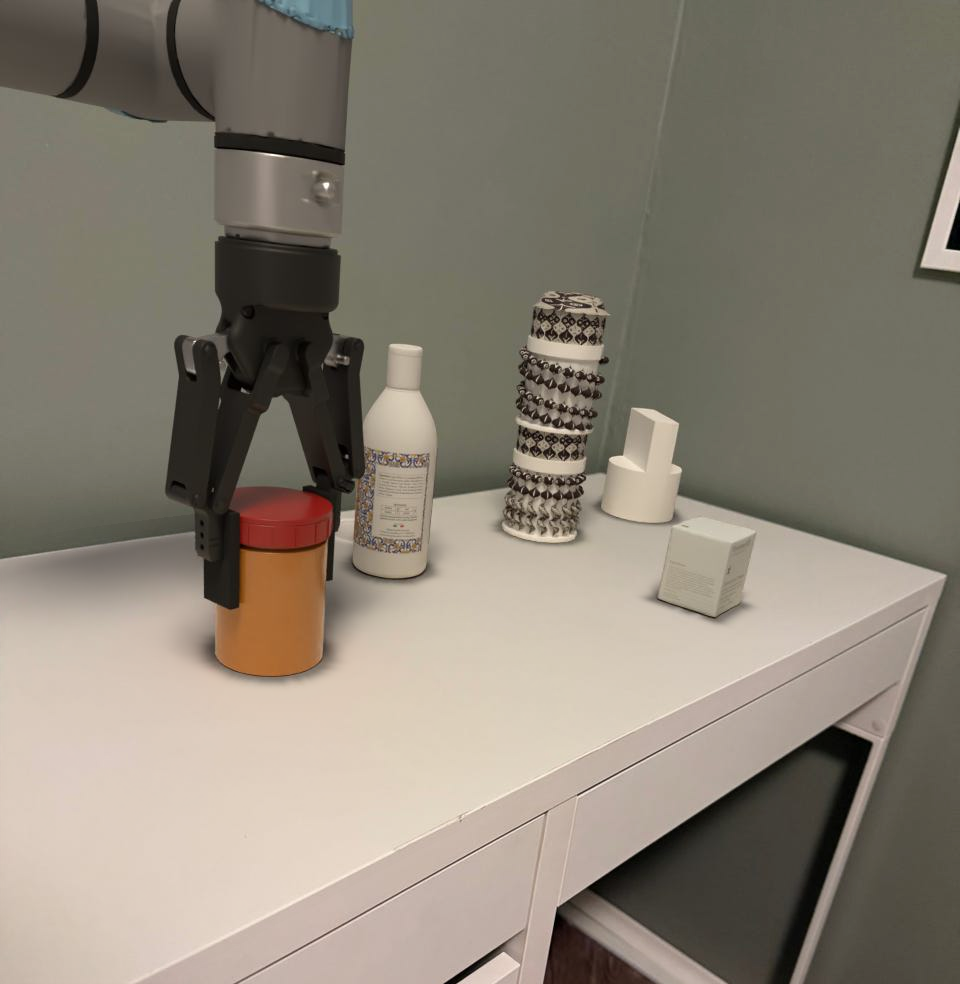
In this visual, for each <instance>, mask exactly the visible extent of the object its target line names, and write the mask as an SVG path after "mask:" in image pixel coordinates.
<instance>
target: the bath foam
mask: <svg viewBox="0 0 960 984" xmlns="http://www.w3.org/2000/svg"><path fill="white" fill-rule="evenodd" d="M423 354H424V350H423V348H422V346H418V345H412V344H405V343H391V344H389V345H388V351H387V366H386V384H385V385H386V386H385V388H384V389H383V391H382V392H381V394H379V396H378V397H377V399H376V400H375V402H373V404H372V406H371V407H370V409H369V411H368V412H367V414H366V415H365V418H364V420H363V439H364V456H365V473H364V475H363V477H362V478H361V479H356V484H355V505H354V519H353V520H354V521H353V537H352V538H353V539H352V540H353V541H352V542H353V543H352V563H353V565H354V567H355V568H356V569H358V571H361V572H363V573H365V574H367V575H371V576H374V577H379V578H386V579H405V578H411V577H415V576H418V575H420V574H422V573H423V572H424V571H425V570H426V568H427V563H428V552H429V545H430V535H431V524H432V514H433V504H434V494H435V481H436V471H437V460H438V451H439V448H438V433H437V428H436V423H435V421H434V418H433V416H432V413H431V411H430V409H429V406H428V405H427V403H426V401H425V398H424V397H423V396H422V395H423V394H422V393H421V390H420V388H421V387H420V386H421V377H422V369H423V368H422V367H423V366H422V365H423Z"/></svg>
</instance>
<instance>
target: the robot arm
mask: <svg viewBox="0 0 960 984" xmlns="http://www.w3.org/2000/svg"><path fill="white" fill-rule="evenodd" d="M353 5H354V3H353V0H0V87H1V88H6V89H11V90H17V91H23V92H26V93H27V92H28V93H33V94H38V95H44V96H49V97H52V98H56V99H61V100H66V101H70V102H75V103H80V104H86V105H90V106H95V107H99V108H104V109H105V110H107V111H108V112H111V113H113V114H116V115H118V116H122V117H125V118H129V119H132V120H140V121H146V122H149V123H152V124H164V123H168V122H170V121H171V122H199V123H214V127H215V128H214V129H215V132H214V135H213V148H214V151H213V152H214V157H213V158H214V159H213V162H214V164H213V165H214V166H213V171H214V172H213V220H214V221H215V222H216V223H217V224H218V225H220V226H223V229H224V230H223V231H224V235H219V236H218V237H217V240H214V293H215V295H216V297H217V299H218V302H219V304H220V308H221V312H220V318H219V321H218V323H217V326H216V328H215V332H214V333H210V334H206V335H201V336H198V337H196V336H191V335H187V334H180V335H178V336H177V337H176V338H175V339H174V341H173V349H174V355H175V361H176V366H177V372H178V380H177V389H176V397H175V406H174V413H173V421H172V428H171V429H172V430H171V436H170V437H171V438H170V447H169V454H168V461H167V462H168V463H167V469H166V470H167V471H166V479H165V487H164V494H165V496H166V498H168V499H169V500H172V501H174V502H177V503H180V504H182V505H185V506H187V507H190V508H192V509H193V512H194V540H195V541H194V551H195V552H196V555H197V557H200V558H202V559H203V563H202V564H203V599H205V600H207V601H210V602H212V603H214V604H215V603H216V604H218V605H220V606H222V607H224V608H227V609H229V610H232V609H236V608H239V565H240V513H239V512H236V511H233V510H231V509H228V508H229V506H230V503H231V500H232V497H233V494H234V491H235V488H237V485H238V482H239V479H240V476H241V473H242V471H243V467H244V464H245V461H246V459H247V456H248V453H249V450H250V447H251V444H252V441H253V438H254V435H255V432H256V429H257V426H258V425H259V424H258V423H259V420H260V418H261V416H262V414H264V413H266V412H267V411H268V410H269V409H270V406H271V403H272V400H273V398H274V399H275V398H279V397H281V396H282V398H283V399H284V400H285V401H286V402H287V403H288V405H289V409H290V412H291V416H292V419H293V422H294V425H295V428H296V431H297V435H298V438H299V441H300V444H301V449H302V452H303V455H304V458H305V461H306V465H307V468H308V470H309V475H310V477H311V480H312V483H314V484H315V486H314V485H312V484H308V485H303V486H302V490H301V491H306V492H310V493H313V494H316V495H319V496H321V497H323V498H325V499H327V500H328V501H329V502H330V503H331V504H332V513H333V527H332V531H331V535H330V536H329V538H328V554H327V575H326V583H327V582H332V581H333V580H334V563H335V562H334V561H335V544H336V543H335V542H336V533H337V532H339V530H340V529H339V528H340V527H341V516H342V515H341V513H342V497H343V496H342V495H343V494H346V495H350V494H352V492H353V491H354V490H355V489H356V481H355V480H354V479H356V480H357V479H361V478H362V477H363V475H364V473H365V456H364V439H363V423H364V421H363V407H362V391H361V388H362V387H361V367H362V363H363V357H364V352H365V343H364V341H363V339H361V338H359V337H356V336H355V337H354V336H350V335H345V334H341V333H335V332H333V329H332V326H331V323H330V313H331V312H334V311H335V310H337V308H338V307H339V304H340V285H341V284H340V283H341V267H342V266H341V265H342V263H341V262H342V255H340V254H339V250H338V249H337V248H331V245H332V244H331V243H332V239H338V238H339V237H340V236H341V235H342V233H343V232H342V229H343V211H344V210H343V209H344V189H345V188H344V187H345V169H346V168H345V167H344V166H345V165H346V139H347V122H348V106H349V105H348V104H349V89H350V75H351V63H352V62H351V61H352V50H353V39H355V32H356V30H355V27H354V12H353V11H354V8H353ZM224 371H225V372H224ZM221 372H224V375H223V378H222V375H221ZM242 389H243V390H244V391H245V392H243V391H242ZM346 456H347V457H346Z"/></svg>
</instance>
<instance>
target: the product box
mask: <svg viewBox="0 0 960 984" xmlns="http://www.w3.org/2000/svg"><path fill="white" fill-rule="evenodd" d="M756 537H757V530H754V529H750V528H749V527H744V526H741V525H736V524H732V523H728V522H724V521H720V520H716V519H712V518H709V517H705V516H697V517H693V518H690V519H685V520H684V521H682V522H679V523H676V524H674V525H672V526H671V529H670V534H669V539H668V544H667V550H666V553H665V559H664V564H663V567H662V572H661V576H660V577H661V578H660V583H659V586H658V592H657V599H658V600H661V601H663V602H666V603H669V604H671V605H675V606H678V607H681V608H684V609H687V610H690V611H694V612H696V613H700V614H702V615H705V616H707V617H712V618H717V617H718V616H719V615H721V614H723V613H724V612H726V611H728V610H730V609H732V608H734V607H736V606H739V604H740V603H741V600H742V596H743V591H744V587H745V583H746V579H747V574H748V569H749V565H750V561H751V557H752V553H753V548H754V544H755V540H756Z"/></svg>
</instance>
